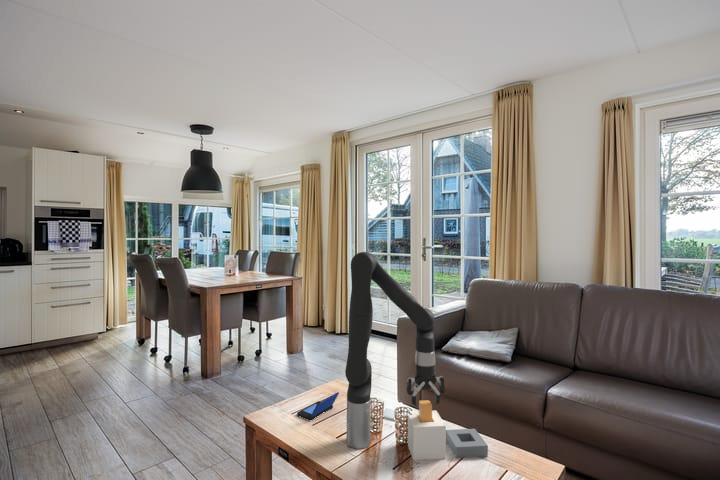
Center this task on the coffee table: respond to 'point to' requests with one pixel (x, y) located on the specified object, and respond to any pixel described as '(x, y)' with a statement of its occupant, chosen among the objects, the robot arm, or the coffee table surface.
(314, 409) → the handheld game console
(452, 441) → the lower base
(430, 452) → the upper stand
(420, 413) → the plug
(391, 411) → the hard drive
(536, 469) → the coffee table surface
